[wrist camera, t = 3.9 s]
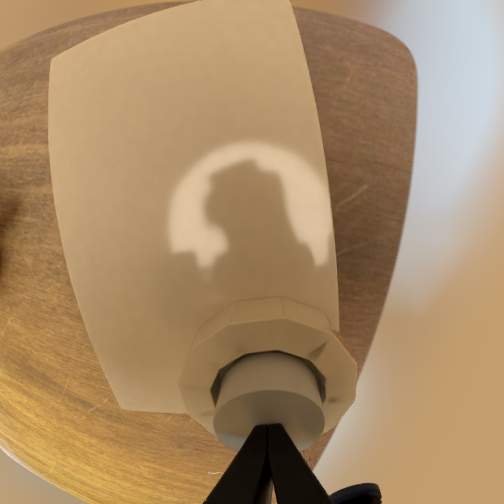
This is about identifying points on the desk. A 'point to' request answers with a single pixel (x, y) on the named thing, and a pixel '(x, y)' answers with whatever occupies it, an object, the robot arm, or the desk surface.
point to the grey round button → (269, 400)
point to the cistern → (197, 204)
